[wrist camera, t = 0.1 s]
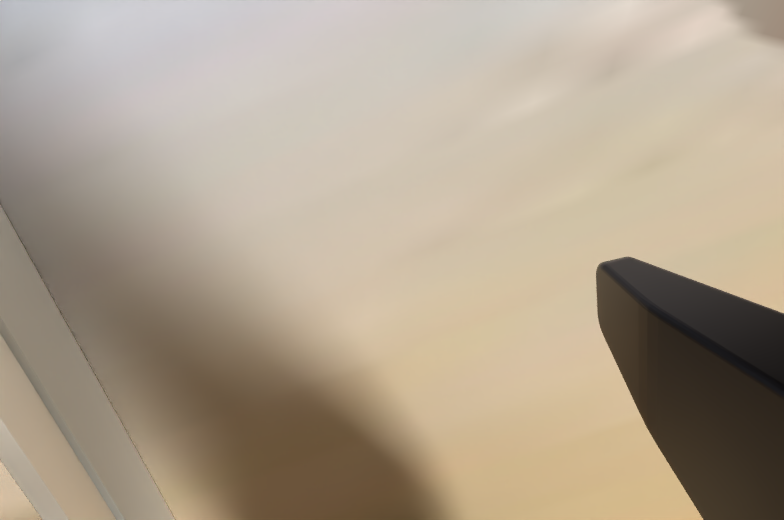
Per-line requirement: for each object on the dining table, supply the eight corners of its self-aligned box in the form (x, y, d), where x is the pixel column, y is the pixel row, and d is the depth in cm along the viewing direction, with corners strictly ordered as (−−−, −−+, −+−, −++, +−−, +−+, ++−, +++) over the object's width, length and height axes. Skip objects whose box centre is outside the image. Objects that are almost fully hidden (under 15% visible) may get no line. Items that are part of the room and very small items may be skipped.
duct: (191, 549, 32) (181, 612, 29) (48, 583, 32) (25, 649, 29) (-35, 141, 22) (-83, 180, 19) (-249, 191, 22) (-329, 238, 19)
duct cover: (155, 607, 29) (166, 600, 29) (200, 741, 24) (213, 731, 24) (-89, 229, 19) (-70, 222, 19) (-98, 321, 14) (-72, 311, 14)
